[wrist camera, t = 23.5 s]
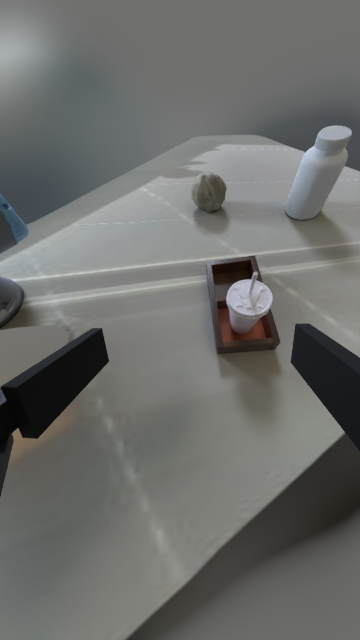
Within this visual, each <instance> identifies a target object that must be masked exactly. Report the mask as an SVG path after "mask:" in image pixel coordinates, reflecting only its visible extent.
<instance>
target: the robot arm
mask: <svg viewBox="0 0 360 640" xmlns="http://www.w3.org/2000/svg"><path fill="white" fill-rule="evenodd" d="M28 233H29V231H28V228H27V226H26V225H25V224H24V223H23V221H22V220H21V219H20V218H19V217H18V215H17V214H16V212H15V211H14V210H13V209H12V207H11V206H10V205H9V204H8V202H7V201H6V200H5V199H4V198H3V196H2V195H1V194H0V253H2V252H4V251H6V250H7V249H9V248H11V247H13V246H15V245H17V244H18V242H20V241H21V240H23V239H24V238H26V237H27V236H28ZM23 296H24V295H23V290H22V288H21V287H20V286H19V285H18V284H16V283H15V282H13V281H12V280H9V279H6V278H3V277H0V327H2V326H3V325H4V324H6V323H7V322H8V321H9V320H10V319H11V318H12V317H13V316H14V315H15V314H16V312H17V311H18V310H19V308H20V306H21V304H22V301H23ZM108 362H109V359H108V354H107V350H106V345H105V341H104V336H103V331H102V328H92V329H91V330H89V331H87V332H86V333H84V334H83V335H81V336H80V337H78V338H76V339H75V340H73V341H72V342H70V343H69V344H67V345H66V346H64V347H62V348H61V349H59V350H58V351H56V352H54V353H53V354H51V355H50V356H48V357H47V358H45V359H43V360H42V361H40V362H39V363H37V364H36V365H34V366H32V367H31V368H29V369H28V370H27V371H25V372H23V373H21V374H20V375H18V376H17V377H15V378H14V379H12V380H10V381H9V382H8V383H6V384H4V385H3V386H1V388H0V496H1V492H2V488H3V483H4V479H5V475H6V471H7V467H8V462H9V458H10V454H11V450H12V445H13V441H14V440H13V436H12V434H11V433H12V432H13V431H15V430H16V429H17V428H19V430H20V432H21V435H22V437H23V438H35V439H38V438H39V436H40V435H41V434H42V433H43V432H44V431H45V430H46V429H47V428H48V427H49V426H50V425H51V423H52V422H53V421H54V420H55V419H56V418H57V417H58V416H59V415H60V414H61V413H62V412H63V411H64V409H65V408H66V407H67V406H68V405H69V404H70V403H71V402H72V401H73V400H74V399H75V398H76V396H77V395H78V394H79V393H80V392H81V391H82V390H83V389H84V388H85V387H86V386H87V385H88V384H89V382H90V381H91V380H92V379H93V378H94V377H95V376H96V375H97V374H98V373H99V372H100V371H101V369H102V368H103V367H104V366H105V365H106V364H107V363H108ZM291 363H292V365H293V366H294V367H295V368H296V370H297V371H298V372H299V374H300V375H301V376H302V377H303V379H304V380H305V381H306V383H307V384H308V385H309V386H310V388H311V389H312V390H313V392H314V393H315V394H316V395H317V397H318V398H319V399H320V401H321V402H322V403H323V404H324V406H325V407H326V408H327V410H328V411H329V412H330V413H331V415H332V416H333V417H334V419H335V420H336V421H337V422H338V424H339V425H340V426H341V428H342V429H343V430H344V431H345V433H346V434H347V435H348V436H349V438H350V439H351V440H352V442H353V443H354V444H355V446H356V447H357V448H358V449H359V451H360V358H359V357H358V356H356V355H355V354H353V353H352V352H350V351H349V350H347V349H346V348H344V347H343V346H341V345H340V344H339V343H337V342H336V341H334V340H333V339H331V338H330V337H328V336H327V335H325V334H324V333H322V332H321V331H319V330H318V329H316V328H315V327H313V326H312V325H310V324H296V325H295V333H294V341H293V349H292V357H291Z"/></svg>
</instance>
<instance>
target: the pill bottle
mask: <svg viewBox="0 0 360 640" xmlns="http://www.w3.org/2000/svg"><path fill="white" fill-rule="evenodd" d="M351 135H352V131H351V130H350V129H349V128H347V127H344V126H330V127H326V128H324V129H322V130H321V131H320V132H319V134H318V136H317V139H316V141H315V145H314V146H313V147H312V148H310V149H309V150H308V151H307V152H306V153H305V154H304V156H303V158H302V161H301V163H300V166H299V169H298V172H297V175H296V178H295V180H294V183H293V186H292V189H291V192H290V194H289V197H288V200H287V203H286V206H285V211H286V213H287V214H288V215H289V216H290V217H292V218H295V219H299V220H306V219H311V218H313V217H315V216H316V215H317V214H318V213H319V212H320V210H321V208H322V206H323V204H324V203H325V201H326V199H327V197H328V195H329V193H330V191H331V190H332V188H333V186H334V184H335V182H336V180H337V178H338V177H339V175H340V173H341V171H342V169H343V167H344V165H345V163H346V161H347V158H348V152H347V151H346V149H345V147H346V145H347V143H348V140H349V139H350V137H351Z"/></svg>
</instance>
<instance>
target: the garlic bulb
mask: <svg viewBox="0 0 360 640" xmlns="http://www.w3.org/2000/svg"><path fill="white" fill-rule="evenodd" d="M226 189H227V188H226V185H225V183H224V181H223V180H222V179H221V178H220V177H219V176H218V175H215V174H213V173H210V172H204V173H202V174H200V175H198V176H197V178H196V179H195V180H194V182H193V185H192V189H191V197H192V200H193V201H194V203H195V205H196V206H198V207H199V208H201V209H203V210H204V211H206V212H211V211H213V210H217V209H219V208H220V205H221V204H222V203H223V201H224V199H225V192H226Z"/></svg>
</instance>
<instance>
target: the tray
mask: <svg viewBox="0 0 360 640" xmlns="http://www.w3.org/2000/svg"><path fill="white" fill-rule="evenodd" d="M206 271H207V280H208V288H209V296H210V303H211V311H212V319H213V326H214V334H215V342H216V350H217V354H224V353H236V352H249V351H261V350H274V349H275V348H276V347H277V346H278V345H279V344H280V339H279V336H278V333H277V329H276V326H275V322H274V319H273V316H272V312H271V309H270V310H269V311H268V313H267V314H266V315H264V316H262V317H261V318H260V319H259V320H258V321H257V322H256V324H255V325H254V326H253V327H252V328H251V329H250V331H249V332H248V333H246V334H237V333H235V332H234V331H233V330H232V328H231V323H230V313H229V308H228V306H227V301H226V298H227V293H228V291H229V289H230V287H231V286H232V285H233V284H235V283H236V282H238V281H241V280H247V279H250V280H252V276H253V273H254V272H258V275H257V278H256V281H259V282H262V278H261V275H260V272H259V268H258V265H257V261H256V258H255V256H249V257H241V258H234V259H227V260H220V261H212V262H206ZM262 283H263V282H262Z"/></svg>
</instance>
